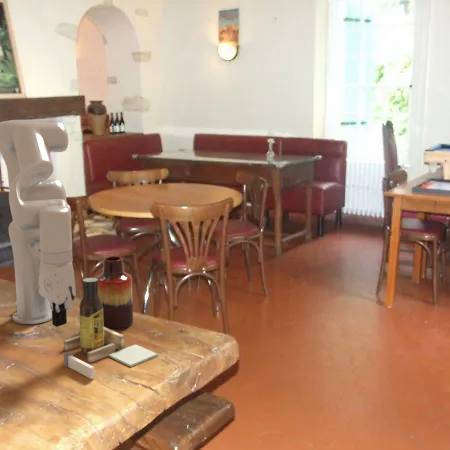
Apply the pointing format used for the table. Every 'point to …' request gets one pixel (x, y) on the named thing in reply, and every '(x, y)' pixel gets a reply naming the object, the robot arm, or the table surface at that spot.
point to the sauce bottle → (91, 317)
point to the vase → (115, 294)
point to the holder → (110, 338)
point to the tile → (133, 355)
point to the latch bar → (78, 365)
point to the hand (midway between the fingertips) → (59, 324)
